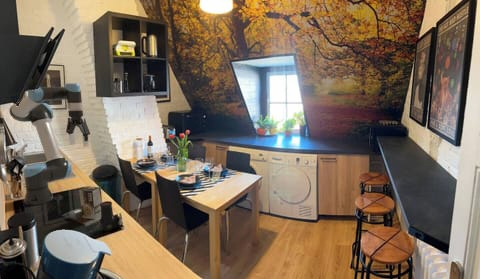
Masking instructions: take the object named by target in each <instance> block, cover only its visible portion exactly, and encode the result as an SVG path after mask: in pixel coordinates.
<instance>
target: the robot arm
mask: <svg viewBox="0 0 480 279" xmlns="http://www.w3.org/2000/svg"><path fill="white" fill-rule="evenodd" d="M38 87H39V88H38V89H36V90H33V91H29V90H28V91H27V95H26V96H25V97H23V99H21V100H22V101H21V100H20V101H21V103H20V105H19V106H18V107H16V105H15V103H13V104H12V105H11V106H10V107H9V110H8V111H9V115H10V117H12V119H14V120H15V121H18V122H22V123H23V122H24V123H28V122H31V125H32V126H33V127H35V128H36V132H37V135H38V137H39V140H40V143H41V144H40V145H41V147H42V150H43V152H44V155H45V157H46V160H45V162H40V163H33V164H31V165H28V166H26V167H24V169H23V177H24V183H25V189H26V191H25V196H24V205H26V206H39V205H42V204H46V203H49V202H50V201H52V200H54V196H53V195H54V194H53V193H52V191H51V190H50V188H49V183H51V182H55V181H60V180H64V179H67V178H69V177H70V176H71V175H72V172H73V167H72V166H73V165H72V162H71V161H70V160H68V159H66V157H64V156H62V153H61V150H60V148H59V145H58V141H57V140H56V136H55V134H54V133H55V132H54V130H53V127H52V123H51V122H53V119H54V111H53V108H52V107H51V105H49V103H45V101H61V100H62V101H67V103H66V104H67V106H66V107H67V110H68V112H67V114H68V117H67V123H66V124H67V125H66V130H65V132H66V133H67V134H68V138H69V139H68V140H69V146H70V145H71V146H73V145H76V140H75V139H76V138H75V133H74V131H75V129H76V127H77V128H79V130H80V132H81V134H82V144H83V148H86V147H89V135H91V133H90V129H89V127H88V124H87V121H86V120H87V119H86V118H82V117H83V116H84V111H83V101H82V100H83V99H82V89H81V85H80V84H79V83H65V86H45V87H44V86H38Z"/></svg>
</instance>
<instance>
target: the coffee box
mask: <svg viewBox="0 0 480 279" xmlns="http://www.w3.org/2000/svg"><path fill="white" fill-rule="evenodd" d="M78 192H79V199H80V200H79V201H80V209H82V217H81V218H83V219H84V218H86V219H87V218H89V219H97V218H98V219H100V218H101V207H100V204H101V203H102V202H103V198H102V188H101V187H99V186H91V185H90V186H89V185H88V186H85V187H83V188H81V189H79V190H78ZM99 217H100V218H99Z"/></svg>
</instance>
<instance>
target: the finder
mask: <svg viewBox="0 0 480 279" xmlns="http://www.w3.org/2000/svg"><path fill="white" fill-rule="evenodd" d="M80 209H81V208H76V209H73V210H71V211H68V213H69V216H68V217H69V218H70V219H71V218H72V220H73V219H74V220H75V219H76V220H79V219H78V218H82V210H80Z"/></svg>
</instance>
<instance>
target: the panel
mask: <svg viewBox="0 0 480 279" xmlns="http://www.w3.org/2000/svg"><path fill="white" fill-rule="evenodd" d="M79 209H80V210H82V209H81V208H79ZM61 217H65V218H67V219H70V220H72V221H76V222H78V223H80V224H83V225H84V227H88V226H90V225H92V224H95V223H97V222H99V220H100V219H101V217H99V218H97V219H89V218H82V217H81V218H78V219H73V218H70V217H69V212H67V213H64V214H61Z"/></svg>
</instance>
